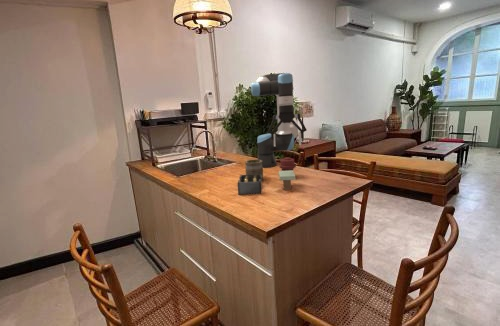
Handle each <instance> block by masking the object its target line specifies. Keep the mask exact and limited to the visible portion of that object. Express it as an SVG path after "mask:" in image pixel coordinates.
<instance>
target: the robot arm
mask: <svg viewBox="0 0 500 326" xmlns="http://www.w3.org/2000/svg"><path fill="white" fill-rule="evenodd" d="M250 90H251V96H253V97H262V96H276V108H277V109H276V111H277V114H274V115H273V116H272V118H273V119H272V121H271V124H269V128H268V130H267V133H265V134H261V135H258V136H257V139H256V140H257V142H256V143H257V159H256V160H262V161H263V163H262V167H263V168H264V169H265V168H273V167H276V166H277V163H278V162H277V160H276V157H275V153H274V152H284V151H285V152H288V151H292V150H293V149H294V145H295V134H293V131H292V130H291V123H292V124H293V125H294V126H295V128H296V129H297V130H298V131H299V132H298V144H299V146H302V139H304V132H306V131H307V128H306V126H305V124H304V121H302V119H301V114H300V113H297V114H296V113H294V109H295V108H294V105H293V104H294V79H293V74H292V73H290V72H281V73H280V72H279V73H269V74H264V75H261V76H260V77H258V78H257V79H256V81H255V82H254V81H253V82H251V85H250ZM295 118H296V119H297V121H298V122H299V124H300V125H301V127H300V126H299V125H298V123H296V121H295V120H294V119H295ZM276 120H277V124H276V125H275V127H273V126H274V124H275V122H276Z"/></svg>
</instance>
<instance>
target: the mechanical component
mask: <svg viewBox="0 0 500 326" xmlns="http://www.w3.org/2000/svg"><path fill="white" fill-rule="evenodd" d="M278 167H279V169H281V171H289V170H293V171H294V169H295V168H296V163H295V158H291V157H289V156H288V157H287V156H286V157H284V158H281V159H280V164H279V165H278Z"/></svg>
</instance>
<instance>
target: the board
mask: <svg viewBox="0 0 500 326" xmlns="http://www.w3.org/2000/svg"><path fill="white" fill-rule="evenodd" d="M278 178H279V181H283V180H291V181H296V174H295V171H294V169H293V170H289V171H282V170H278Z"/></svg>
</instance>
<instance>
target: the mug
mask: <svg viewBox="0 0 500 326" xmlns="http://www.w3.org/2000/svg"><path fill="white" fill-rule="evenodd" d="M244 163H245V175H248V174H261V181H262V182H263V181H264V169H263V167H262V163H263V161H262V160H257V159H248V160H245V161H244Z"/></svg>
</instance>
